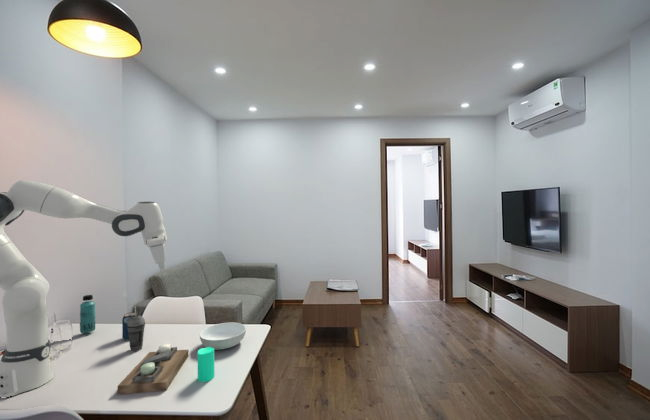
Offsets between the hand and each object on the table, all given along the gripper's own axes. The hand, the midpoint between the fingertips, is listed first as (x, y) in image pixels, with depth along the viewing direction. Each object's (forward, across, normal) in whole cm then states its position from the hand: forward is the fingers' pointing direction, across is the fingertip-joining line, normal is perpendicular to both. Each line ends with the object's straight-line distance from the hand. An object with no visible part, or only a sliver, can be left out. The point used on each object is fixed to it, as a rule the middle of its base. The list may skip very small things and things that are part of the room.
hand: (162, 268), depth 130 cm
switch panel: (+37, +15, -10) cm, 41 cm away
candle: (+39, +28, +6) cm, 49 cm away
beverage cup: (+37, -13, -18) cm, 43 cm away
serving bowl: (+43, +3, +17) cm, 47 cm away
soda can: (+37, -29, -21) cm, 52 cm away
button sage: (+31, +22, -12) cm, 40 cm away
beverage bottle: (+35, -47, -40) cm, 71 cm away
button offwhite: (+33, +7, -6) cm, 34 cm away
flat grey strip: (+32, +15, -9) cm, 36 cm away
